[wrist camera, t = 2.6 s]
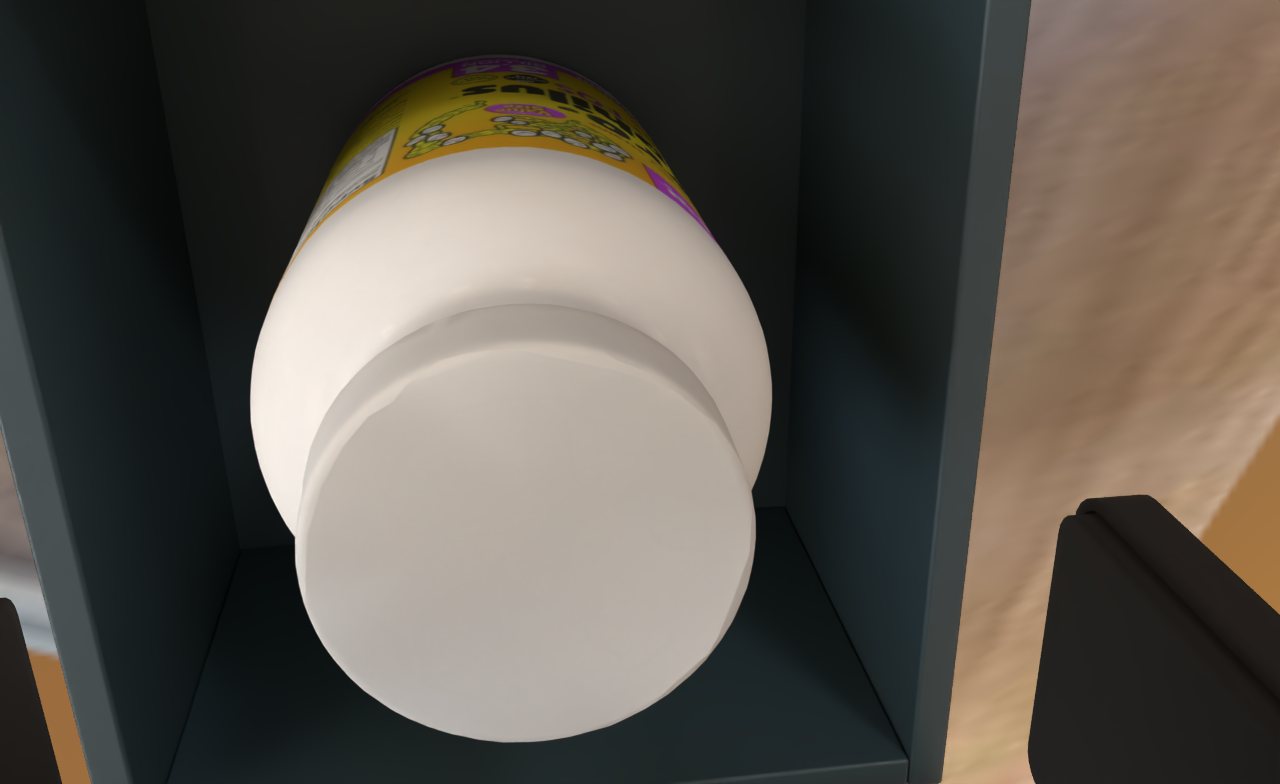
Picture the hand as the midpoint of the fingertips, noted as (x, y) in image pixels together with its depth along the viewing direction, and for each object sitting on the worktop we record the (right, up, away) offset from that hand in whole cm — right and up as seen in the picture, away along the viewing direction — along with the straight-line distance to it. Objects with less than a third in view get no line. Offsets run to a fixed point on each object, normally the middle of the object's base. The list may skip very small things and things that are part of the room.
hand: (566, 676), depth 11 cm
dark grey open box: (-2, +6, +13) cm, 15 cm away
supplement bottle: (-2, +6, +13) cm, 15 cm away
